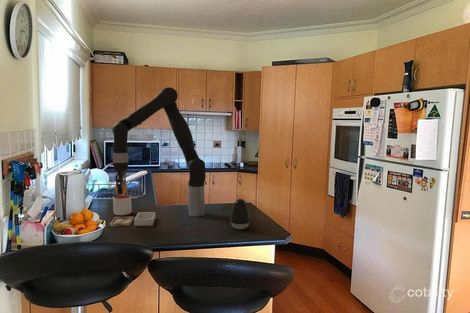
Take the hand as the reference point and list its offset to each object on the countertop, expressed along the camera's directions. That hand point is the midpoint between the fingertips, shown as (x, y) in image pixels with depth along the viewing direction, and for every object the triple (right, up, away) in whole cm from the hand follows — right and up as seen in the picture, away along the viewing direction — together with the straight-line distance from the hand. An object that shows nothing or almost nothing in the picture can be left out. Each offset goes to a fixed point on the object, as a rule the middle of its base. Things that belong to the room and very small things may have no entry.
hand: (121, 192), depth 175 cm
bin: (+12, -16, +3) cm, 20 cm away
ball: (0, +2, 0) cm, 2 cm away
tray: (0, -16, +2) cm, 16 cm away
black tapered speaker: (+63, -18, -6) cm, 65 cm away
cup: (-6, -15, +19) cm, 25 cm away
